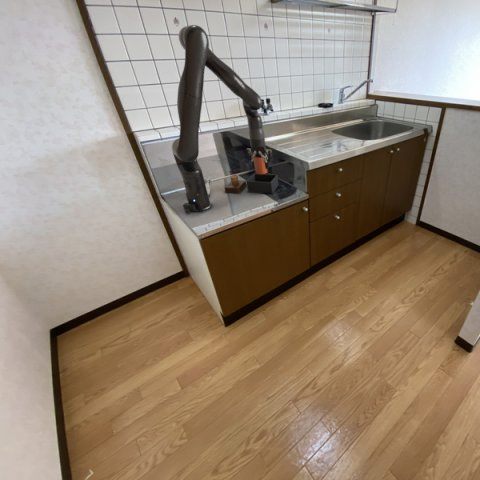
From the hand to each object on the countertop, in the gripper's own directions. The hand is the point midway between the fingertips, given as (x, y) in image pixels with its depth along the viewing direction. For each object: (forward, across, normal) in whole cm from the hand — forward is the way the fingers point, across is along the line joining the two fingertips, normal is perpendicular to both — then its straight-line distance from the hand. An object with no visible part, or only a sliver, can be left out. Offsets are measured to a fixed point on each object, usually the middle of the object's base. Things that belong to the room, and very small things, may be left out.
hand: (261, 168), depth 148 cm
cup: (+2, 0, 0) cm, 2 cm away
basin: (+12, 0, 0) cm, 12 cm away
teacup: (+12, -30, -14) cm, 35 cm away
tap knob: (+9, -15, -3) cm, 18 cm away
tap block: (+12, -16, -3) cm, 20 cm away
